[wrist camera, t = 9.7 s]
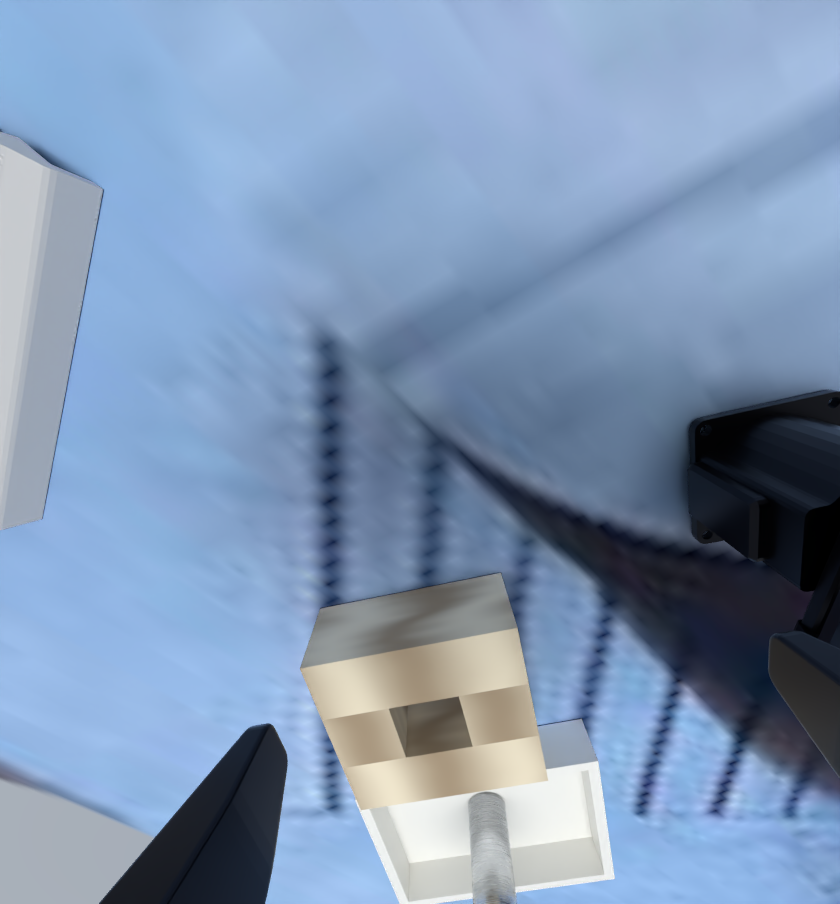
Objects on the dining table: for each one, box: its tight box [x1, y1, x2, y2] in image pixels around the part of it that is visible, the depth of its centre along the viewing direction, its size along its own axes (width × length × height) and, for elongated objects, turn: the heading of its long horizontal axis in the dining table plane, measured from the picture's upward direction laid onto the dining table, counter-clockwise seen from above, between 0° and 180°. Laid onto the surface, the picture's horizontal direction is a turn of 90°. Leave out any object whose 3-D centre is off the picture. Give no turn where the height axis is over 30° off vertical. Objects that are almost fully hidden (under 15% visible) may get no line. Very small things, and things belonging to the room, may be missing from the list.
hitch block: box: [300, 573, 548, 810], centre depth 22 cm, size 10×10×4 cm
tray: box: [355, 719, 615, 904], centre depth 26 cm, size 14×11×2 cm
